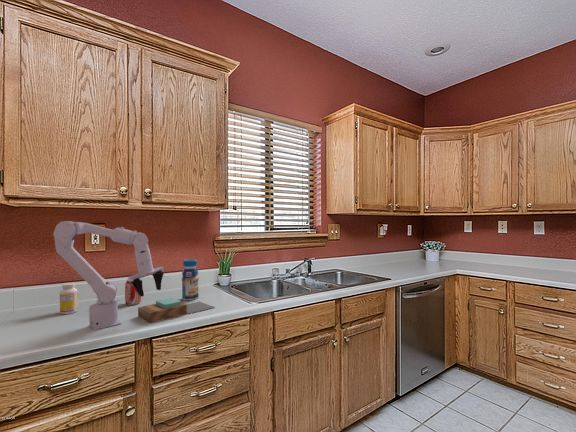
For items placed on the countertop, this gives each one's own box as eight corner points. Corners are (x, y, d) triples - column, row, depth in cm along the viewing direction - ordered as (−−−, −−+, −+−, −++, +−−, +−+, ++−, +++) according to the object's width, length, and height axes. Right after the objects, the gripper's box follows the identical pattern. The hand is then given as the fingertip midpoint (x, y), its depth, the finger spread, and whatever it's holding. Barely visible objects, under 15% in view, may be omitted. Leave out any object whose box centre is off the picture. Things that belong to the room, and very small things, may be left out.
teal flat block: (164, 308, 130) (164, 304, 130) (156, 304, 136) (155, 300, 136) (180, 305, 135) (180, 301, 135) (171, 301, 141) (171, 297, 141)
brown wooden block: (149, 323, 124) (149, 313, 124) (138, 316, 132) (138, 307, 132) (186, 313, 135) (186, 304, 135) (174, 308, 144) (174, 299, 144)
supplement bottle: (68, 309, 144) (68, 282, 144) (81, 310, 143) (81, 282, 143) (55, 314, 137) (55, 285, 137) (69, 314, 136) (68, 285, 136)
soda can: (121, 305, 150) (121, 280, 150) (133, 301, 157) (132, 277, 157) (133, 306, 148) (133, 281, 148) (144, 302, 155) (144, 278, 155)
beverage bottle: (188, 296, 167) (188, 258, 167) (202, 297, 164) (201, 259, 164) (178, 300, 159) (178, 260, 159) (192, 301, 156) (191, 261, 156)
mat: (189, 314, 135) (189, 313, 135) (174, 307, 145) (174, 307, 145) (214, 307, 144) (214, 307, 144) (199, 302, 154) (199, 301, 154)
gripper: (131, 266, 121) (138, 299, 122) (165, 256, 133) (171, 287, 134) (123, 266, 125) (129, 298, 126) (156, 256, 137) (162, 286, 138)
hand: (150, 292), depth 130 cm, fingers open, 7 cm apart
